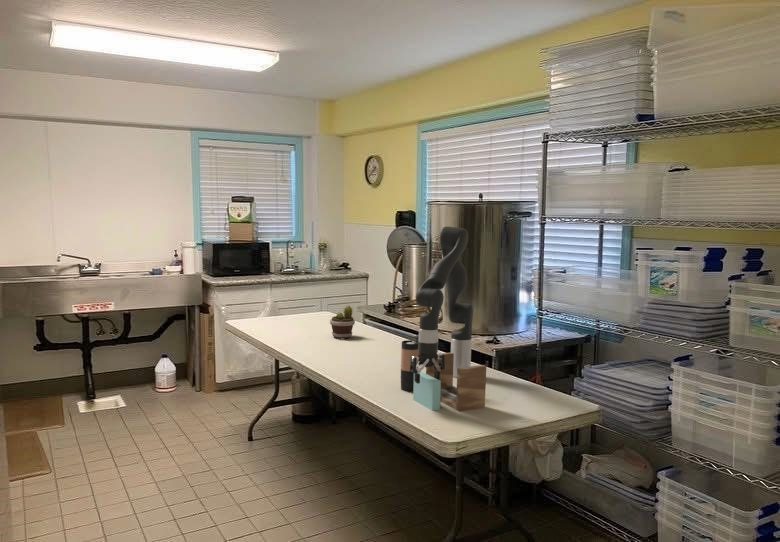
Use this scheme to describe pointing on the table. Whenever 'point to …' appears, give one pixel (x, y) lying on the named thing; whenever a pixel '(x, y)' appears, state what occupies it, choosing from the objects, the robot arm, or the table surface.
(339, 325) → the flowerpot
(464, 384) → the slotted wooden stand
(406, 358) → the travel mug
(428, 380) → the pale teal rectangular block
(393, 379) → the table surface
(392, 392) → the table surface
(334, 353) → the table surface
